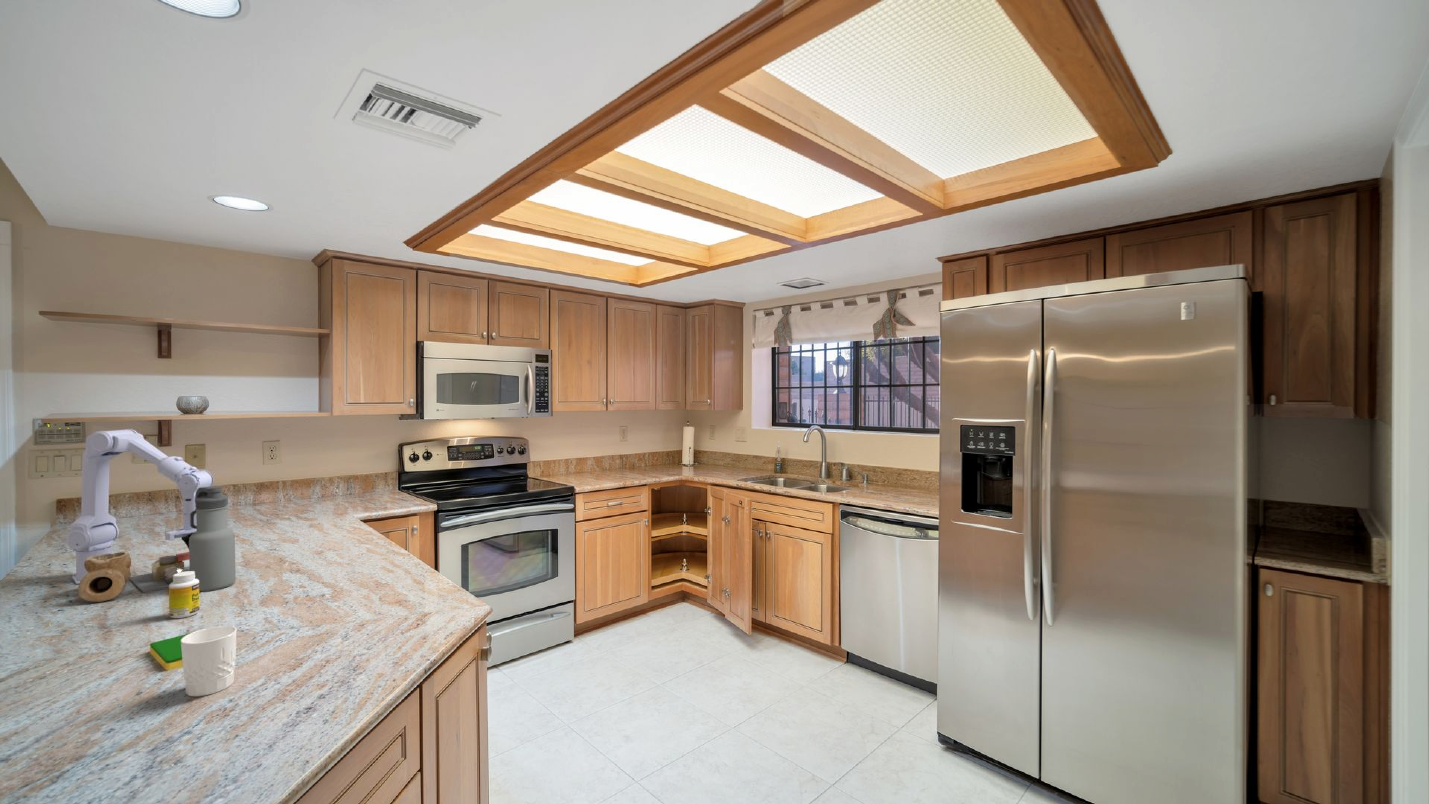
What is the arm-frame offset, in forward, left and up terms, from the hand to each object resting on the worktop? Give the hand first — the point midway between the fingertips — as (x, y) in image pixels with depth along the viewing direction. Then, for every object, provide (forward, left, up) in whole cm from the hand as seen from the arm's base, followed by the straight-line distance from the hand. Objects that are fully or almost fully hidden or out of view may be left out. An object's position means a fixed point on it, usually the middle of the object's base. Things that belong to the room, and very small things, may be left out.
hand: (197, 558), depth 174 cm
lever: (-5, -1, -1) cm, 5 cm away
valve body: (-5, -6, -5) cm, 9 cm away
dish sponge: (+63, -16, -6) cm, 65 cm away
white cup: (+85, -16, -6) cm, 87 cm away
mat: (-4, -4, -5) cm, 8 cm away
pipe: (0, -19, -6) cm, 20 cm away
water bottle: (+14, 0, -6) cm, 15 cm away
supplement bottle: (+35, -10, -6) cm, 37 cm away
